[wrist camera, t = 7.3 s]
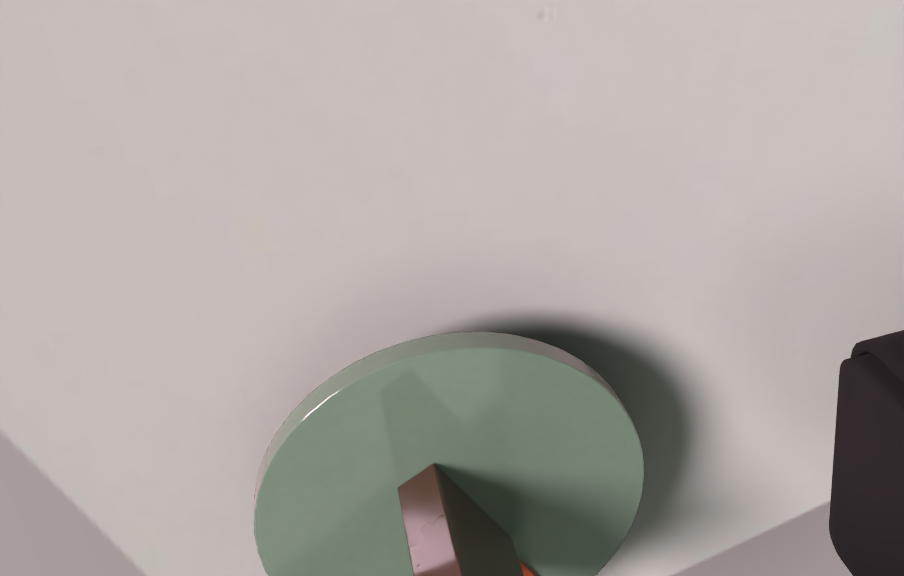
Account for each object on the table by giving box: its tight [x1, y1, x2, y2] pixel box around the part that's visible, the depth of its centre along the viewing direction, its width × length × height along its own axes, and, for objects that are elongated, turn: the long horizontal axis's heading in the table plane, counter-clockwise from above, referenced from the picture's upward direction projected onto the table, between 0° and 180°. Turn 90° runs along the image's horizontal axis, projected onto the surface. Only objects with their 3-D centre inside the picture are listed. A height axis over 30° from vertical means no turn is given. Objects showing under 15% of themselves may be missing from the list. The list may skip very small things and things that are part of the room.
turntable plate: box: [254, 332, 644, 576], centre depth 29 cm, size 14×14×7 cm
